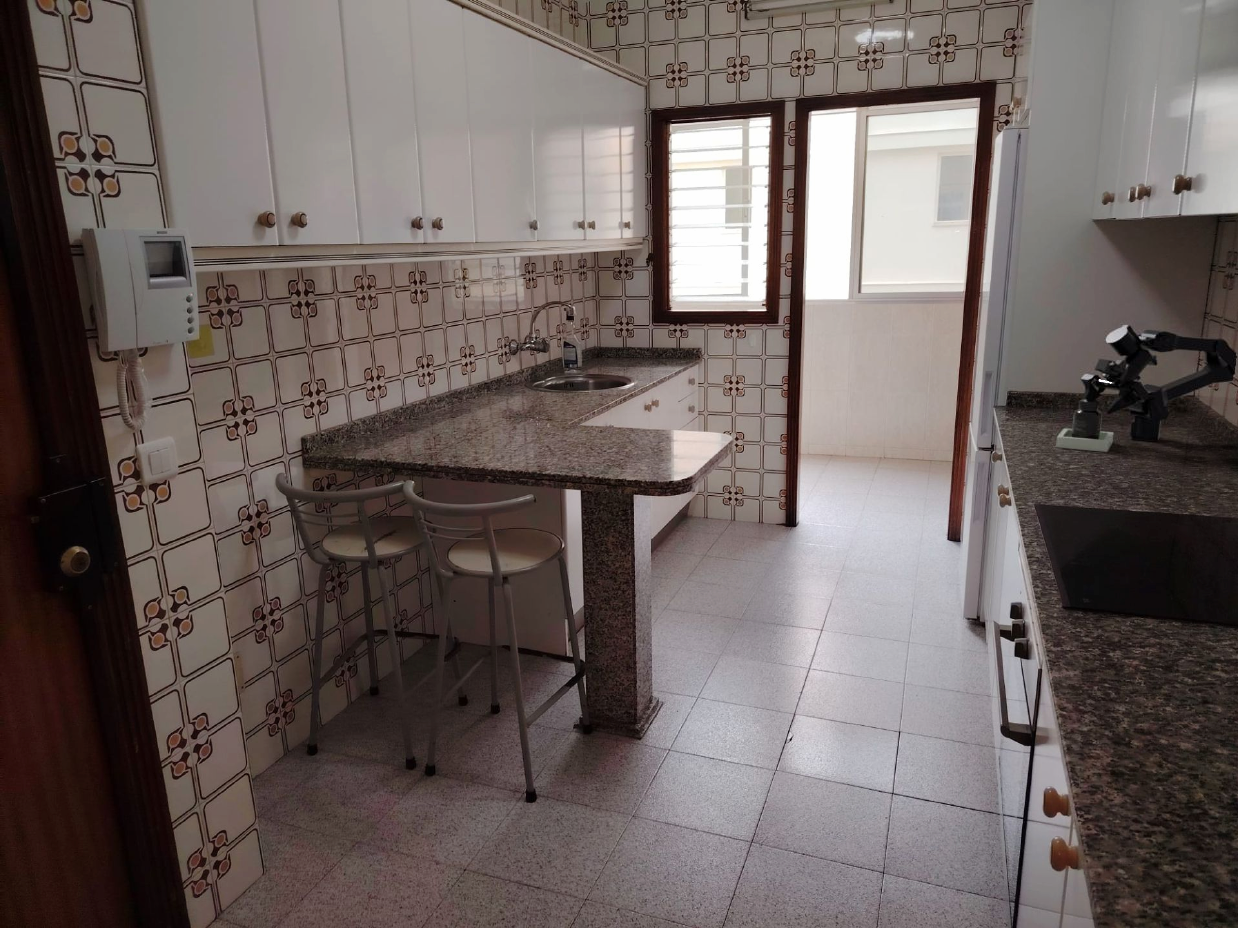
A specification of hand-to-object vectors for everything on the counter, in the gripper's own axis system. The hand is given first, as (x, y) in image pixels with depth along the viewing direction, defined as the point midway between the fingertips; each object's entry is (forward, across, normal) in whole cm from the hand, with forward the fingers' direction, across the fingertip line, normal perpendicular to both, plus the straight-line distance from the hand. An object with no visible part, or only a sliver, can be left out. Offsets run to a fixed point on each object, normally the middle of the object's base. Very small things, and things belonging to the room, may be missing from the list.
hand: (1094, 410), depth 234 cm
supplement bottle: (+8, 0, +5) cm, 10 cm away
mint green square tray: (+8, 0, +5) cm, 10 cm away
